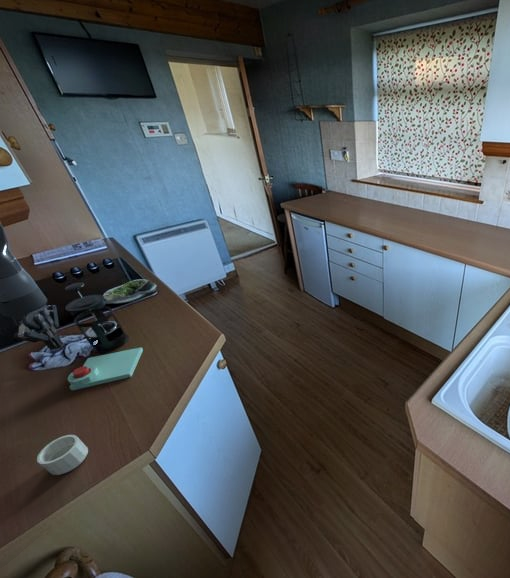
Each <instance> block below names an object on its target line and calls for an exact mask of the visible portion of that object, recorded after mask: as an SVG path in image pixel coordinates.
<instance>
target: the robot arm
mask: <svg viewBox="0 0 510 578" xmlns="http://www.w3.org/2000/svg"><path fill="white" fill-rule="evenodd" d="M47 303H48V298H47V297H46V295H45V294H44V292H43V291H42V290H41V289H40V287H39V285H37V283H36V282H35V280H34V279H33V277H32V276H31V275H30V274H29V273H28V272H27V271H26V270H25V268H24V267H23V266H22V265H21V264H20V262H19V261H18V259H17V258H16V257H15V255H14V254H13V253H12V251H11V249H10V244H9V240H8V238H7V235H6V232H5V228H4V226H3V224H2V222H1V221H0V314H1V315H2V316H4V317H8V318H12V320H13V321H14V324H15V326H16V327H18V332H15V333H14V334H13V338H14V339H16V340H21V341H24V342H25V341H26V342H30V343H38V342H43V344H44V345H45V346H46V347H47V348H48V349H49V350H53V351H54V350H59V349H61V348H62V347H63V345H64V342H63V340H62V339H61V338H60V336H59V335H58V330H57V328H59V327H60V322H59V315H58V310H57V305H55V304H51V305H47Z"/></svg>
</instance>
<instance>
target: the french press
mask: <svg viewBox="0 0 510 578" xmlns="http://www.w3.org/2000/svg"><path fill="white" fill-rule="evenodd" d="M84 286H85V283H84V282H75V283H71V284H69V285H67V286H66V287H65V288H64V290H65V291H75V292H76V293H77V294H78V295H79V297H78V298H76V299H73V300H72V301H71V302H69V303H68V304H67V305H66V306H65V311H67V312H69V313H70V314H71V316H76V317H75V318H74V320H73V322H74V323H75V325H76V326H77V328H78V329H79V331H80V332H81V333H82V335H83V336H84V338H85V339H86V341H87V342H88V343H89V345H90V346H91V348H92V351H93V352H94V353H96V354H106V353H110V352H112V351H115V350H117V349H119V348H122V347H123V346H124V345H126V343H128V341H129V338H130V337H129V335H128V334H127V333H126V331H125V329H124V328H123V326H122V324H121V323H120V322H119V320H118V318H117V316H116V315H115V313H114V311H113V309H112V308H111V307H108V306H106V304H105V301H106V300H105V299H104V296H103V294H89V295H85V296H83V295H82V294H81V292H80V288H83V287H84ZM103 311H108V314H106V315H105V313H104V312H103ZM80 312H81V313H80ZM79 313H80V314H79ZM77 314H78V315H77ZM89 315H92V317H93V318H94V321H91V322H86V323H85V322H84V323H80V320H82V319H84V318H85V317H86V316H89ZM111 318H113V319H114V320H109V319H111ZM84 328H88V329H87V330H86V331H85V330H84ZM114 337H116V338H115V339H113V340H111V341H110V340H109V339H111V338H114ZM96 340H98V343H97V344H96V345H93V342H94V341H96Z"/></svg>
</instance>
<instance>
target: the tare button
mask: <svg viewBox="0 0 510 578" xmlns="http://www.w3.org/2000/svg"><path fill="white" fill-rule="evenodd" d="M72 372H73V373H72ZM72 372H71V373H72V374H73V375H74V376H75V378H82V377H84V376H86V375H87V374H89V373H90V370H89V369H88V367H86V366H83V365H82V366H79V367H78V368H75V369H74V370H73V371H72Z"/></svg>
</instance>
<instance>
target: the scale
mask: <svg viewBox="0 0 510 578" xmlns="http://www.w3.org/2000/svg"><path fill="white" fill-rule="evenodd" d="M143 351H144V349H143V347H136V348H131V349H125V350H120V351H118V352H112V353H107V354H106V353H105V354H102V355H96V356H91V357H87V359H86V361H85V362H84V364H83V365H82V366H86V367H88V369H89V370H90V373H89V374H87V375H86V376H84V377H82V378H75V376H74V375H73V374H72V373H73V371H72V372H70V373H69V375H68V377H67V379H66V380H67V381H68V383H69V384H70V385H69V387H68V388H69V389H70V390H71V391H76V390H81V389H84V388H89V387H93V386H94V387H95V386H98V385H102V384H106V383H112V382H116V381H119V380H124V379H128V378H132V376H133V374H134V372H135V369H136V368H137V365H138V363H139V361H140V358H141V356H142V354H143Z"/></svg>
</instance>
